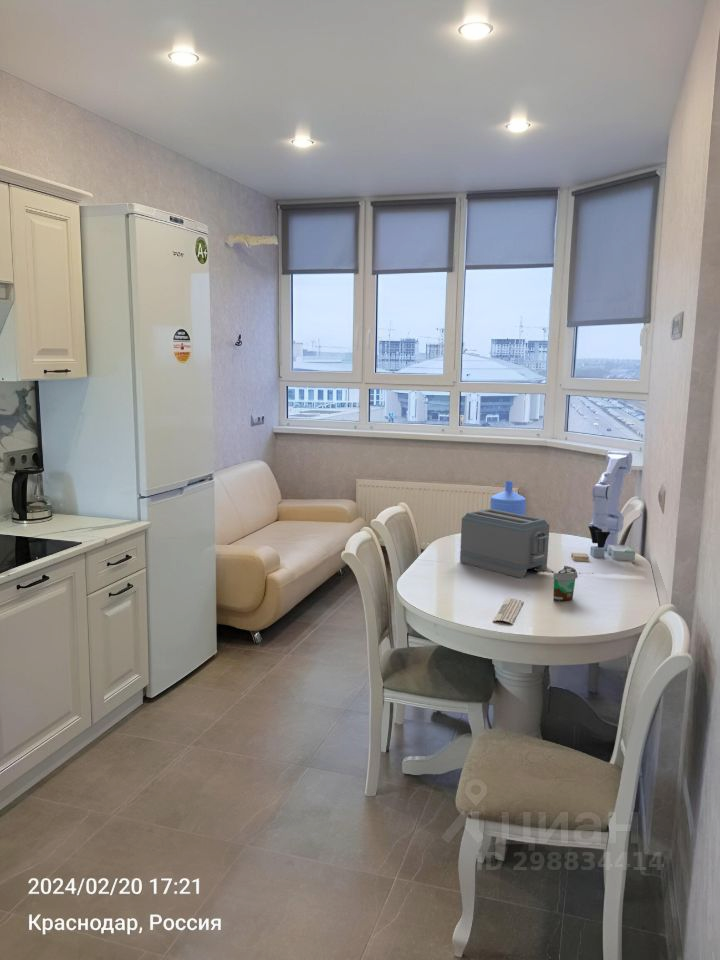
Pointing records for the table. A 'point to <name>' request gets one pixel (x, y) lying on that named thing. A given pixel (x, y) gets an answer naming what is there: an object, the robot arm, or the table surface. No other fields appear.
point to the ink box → (621, 552)
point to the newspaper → (509, 610)
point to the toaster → (504, 542)
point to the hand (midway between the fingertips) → (597, 545)
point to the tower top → (580, 556)
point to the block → (597, 551)
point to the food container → (564, 584)
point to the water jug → (508, 501)
